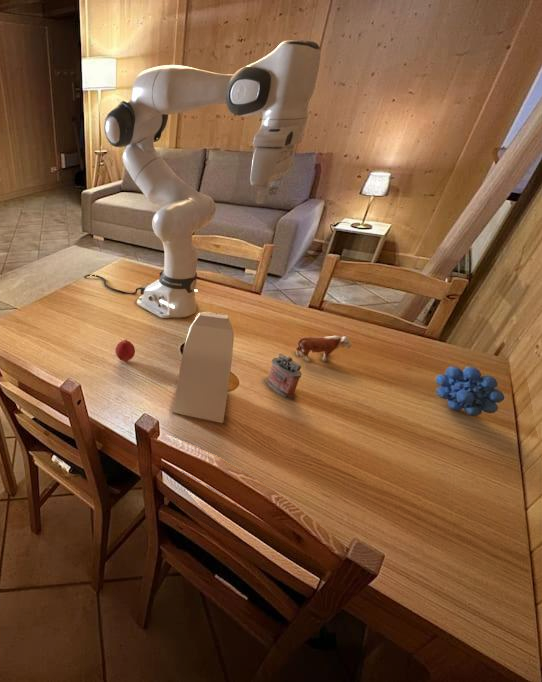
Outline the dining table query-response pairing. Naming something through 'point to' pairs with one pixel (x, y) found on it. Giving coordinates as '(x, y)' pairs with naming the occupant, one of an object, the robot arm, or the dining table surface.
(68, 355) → the dining table surface
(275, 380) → the red grey filled tin
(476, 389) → the grapes
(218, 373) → the milk
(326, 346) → the bull figurine
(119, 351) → the onion
